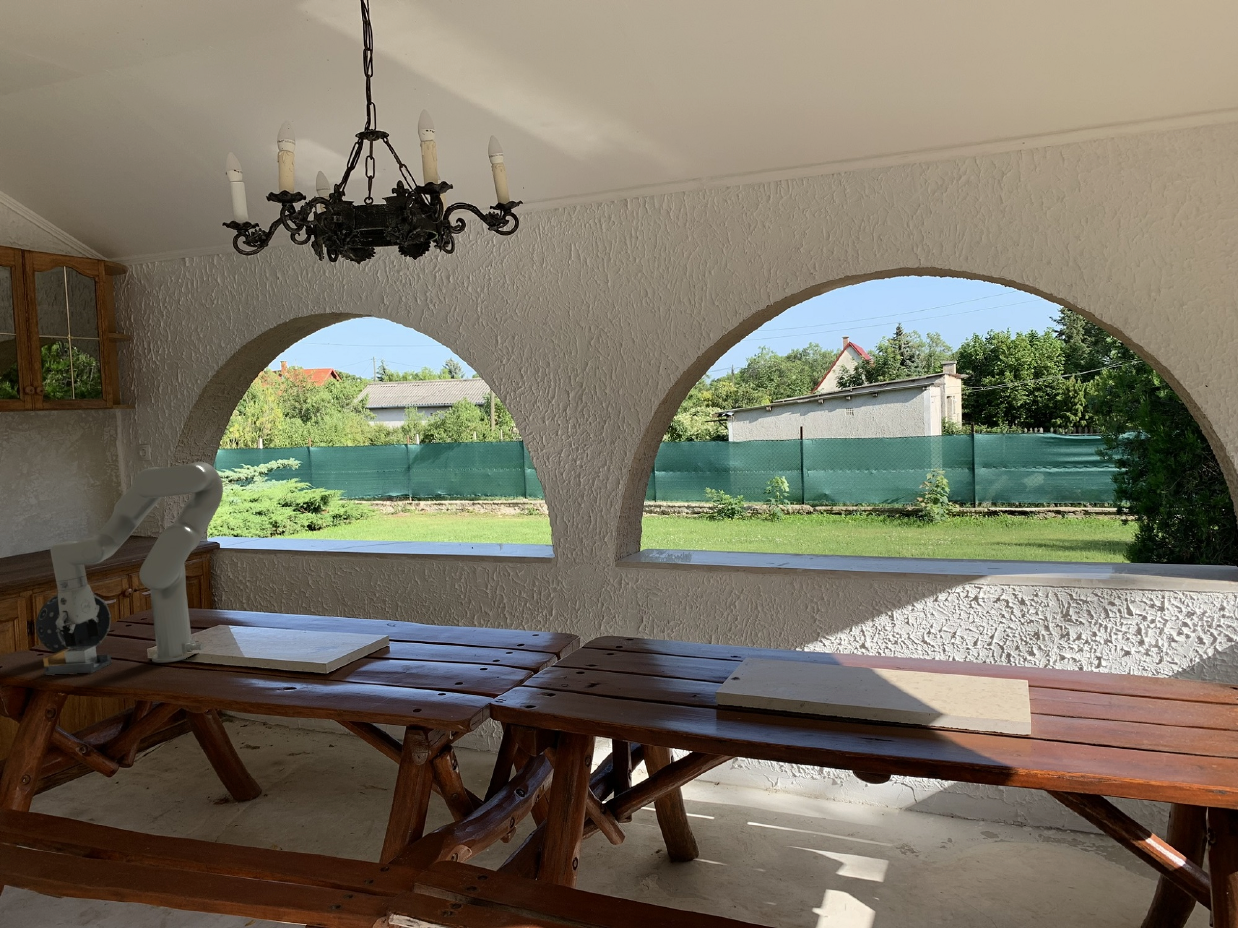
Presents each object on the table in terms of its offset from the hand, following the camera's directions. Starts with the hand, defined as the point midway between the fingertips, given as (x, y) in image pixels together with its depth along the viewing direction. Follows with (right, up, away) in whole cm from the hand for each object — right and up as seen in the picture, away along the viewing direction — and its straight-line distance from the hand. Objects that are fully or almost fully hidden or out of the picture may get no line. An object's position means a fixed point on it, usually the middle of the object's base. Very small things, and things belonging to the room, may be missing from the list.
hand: (83, 640), depth 262 cm
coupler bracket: (-2, -8, 0) cm, 9 cm away
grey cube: (0, -7, 0) cm, 7 cm away
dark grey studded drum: (-13, -8, +19) cm, 25 cm away
